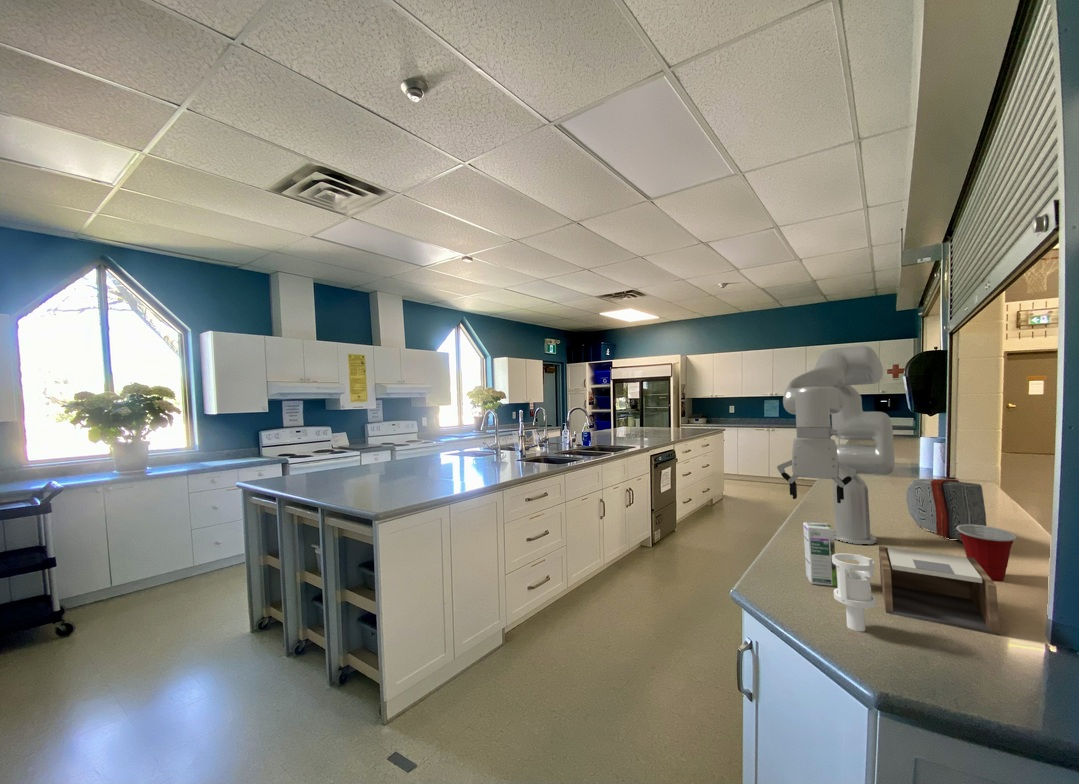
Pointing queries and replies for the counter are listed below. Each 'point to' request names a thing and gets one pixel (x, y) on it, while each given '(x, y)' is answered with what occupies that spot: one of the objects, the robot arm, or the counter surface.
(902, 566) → the trapdoor
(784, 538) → the counter surface
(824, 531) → the syrup box
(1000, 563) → the plastic cup
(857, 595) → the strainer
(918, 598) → the trapdoor frame
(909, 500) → the decorative stone tablet
